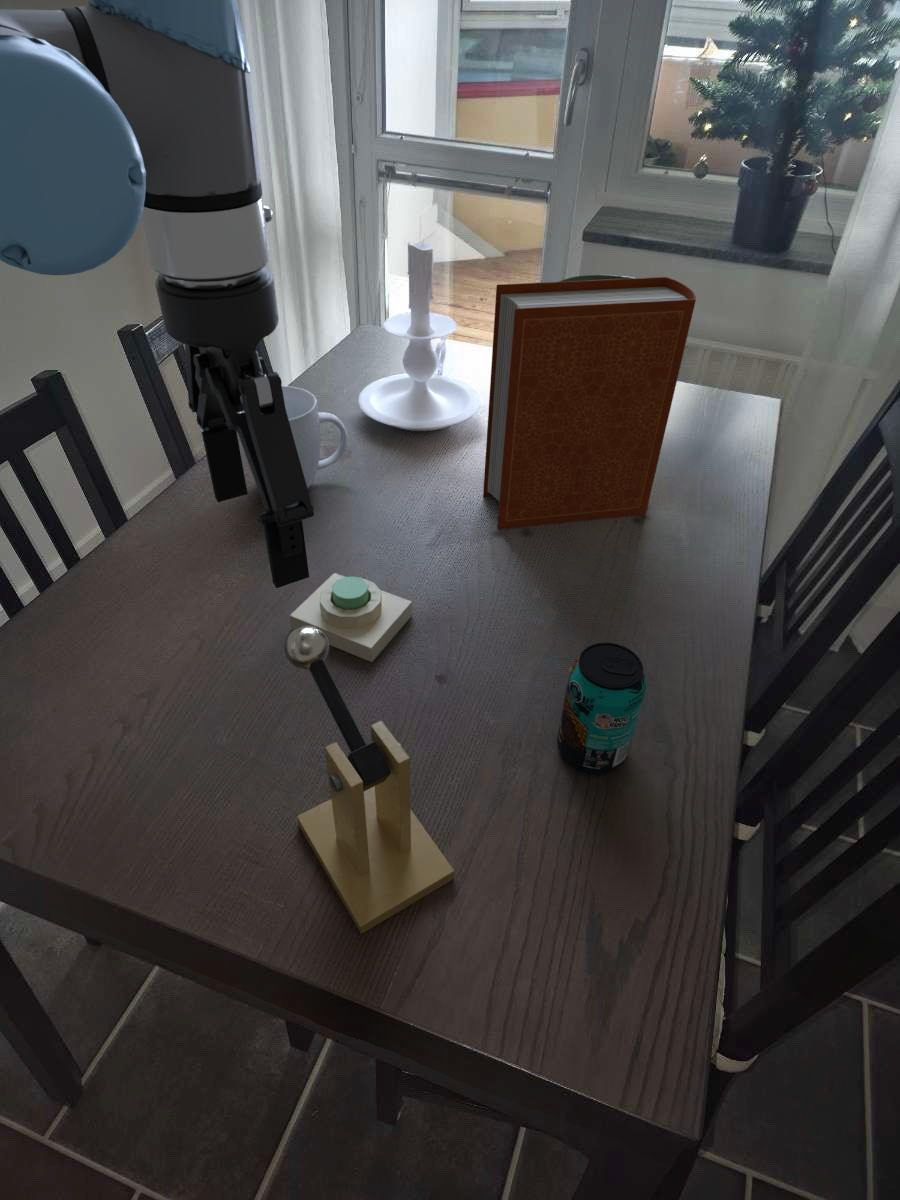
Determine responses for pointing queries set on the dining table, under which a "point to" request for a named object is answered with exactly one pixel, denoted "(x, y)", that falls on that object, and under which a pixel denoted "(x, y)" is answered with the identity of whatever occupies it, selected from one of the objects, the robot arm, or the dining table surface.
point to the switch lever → (335, 702)
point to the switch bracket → (373, 837)
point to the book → (581, 396)
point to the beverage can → (601, 707)
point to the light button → (350, 593)
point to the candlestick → (420, 363)
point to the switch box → (354, 619)
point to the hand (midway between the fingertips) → (259, 535)
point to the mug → (309, 430)
